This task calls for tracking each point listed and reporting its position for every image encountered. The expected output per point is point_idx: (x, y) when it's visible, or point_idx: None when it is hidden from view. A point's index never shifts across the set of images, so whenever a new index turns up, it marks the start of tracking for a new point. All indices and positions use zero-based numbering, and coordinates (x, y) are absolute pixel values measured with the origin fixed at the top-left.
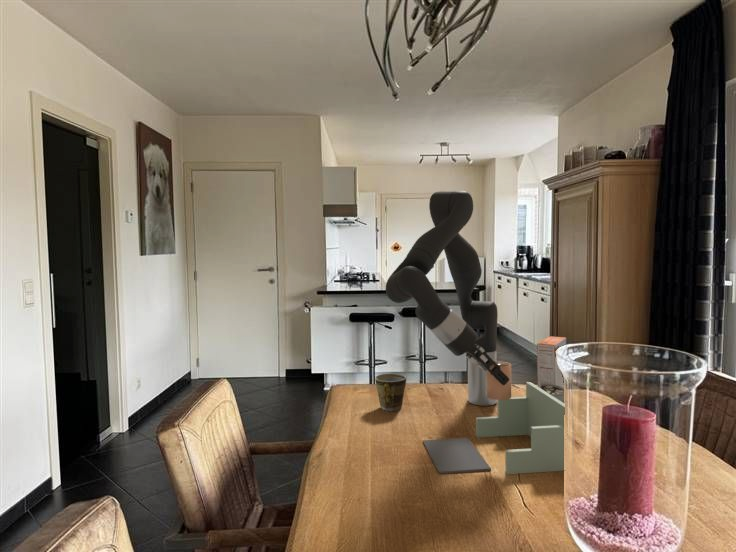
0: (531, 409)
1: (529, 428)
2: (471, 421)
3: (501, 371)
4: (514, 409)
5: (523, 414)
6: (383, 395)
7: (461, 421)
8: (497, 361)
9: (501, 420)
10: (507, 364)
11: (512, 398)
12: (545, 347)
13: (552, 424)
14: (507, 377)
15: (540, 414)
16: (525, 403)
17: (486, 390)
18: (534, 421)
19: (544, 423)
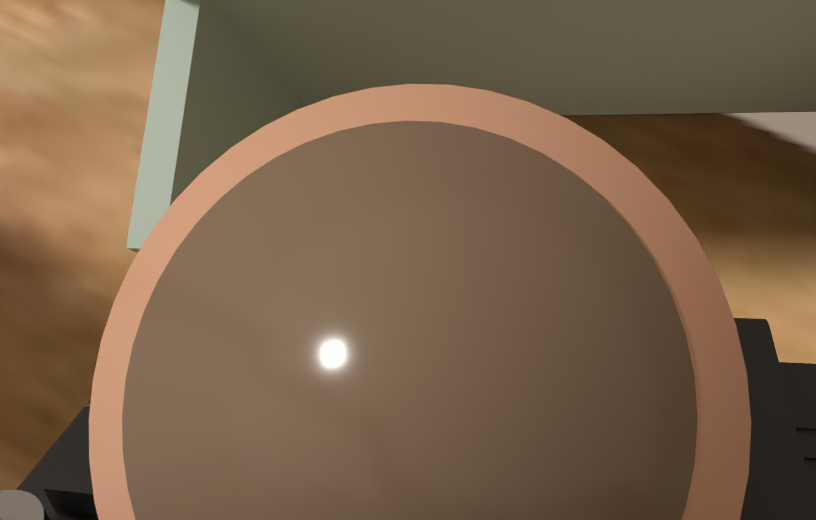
0: (297, 28)
1: (319, 100)
2: (30, 381)
3: (806, 501)
4: (228, 144)
5: (257, 92)
6: None
7: (9, 447)
8: (156, 312)
9: None
10: (525, 197)
11: (172, 122)
12: None
13: (679, 5)
14: (768, 351)
15: (455, 12)
16: (219, 37)
17: None
18: (371, 62)
19: (532, 34)
